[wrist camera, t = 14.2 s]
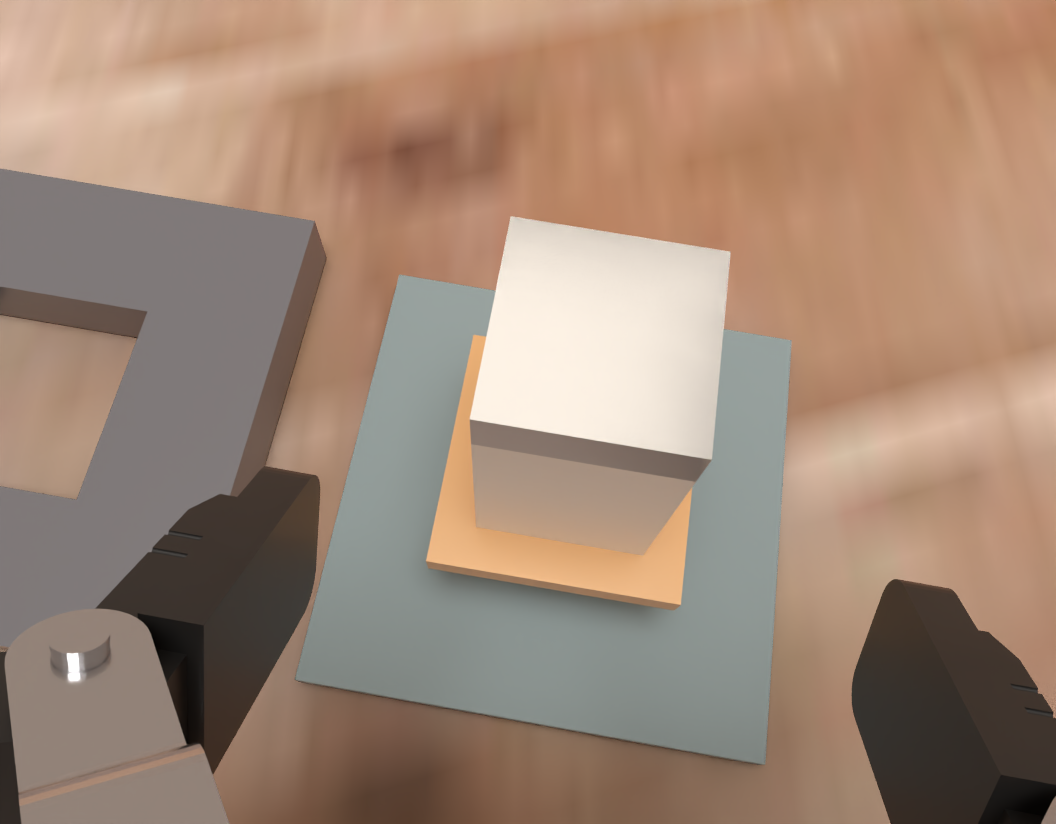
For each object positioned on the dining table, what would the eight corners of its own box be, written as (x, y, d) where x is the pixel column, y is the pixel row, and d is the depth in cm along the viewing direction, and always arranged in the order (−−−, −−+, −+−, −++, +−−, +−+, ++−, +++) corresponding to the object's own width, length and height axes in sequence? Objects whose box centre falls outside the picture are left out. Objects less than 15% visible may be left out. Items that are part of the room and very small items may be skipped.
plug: (680, 415, 25) (788, 214, 16) (657, 624, 23) (769, 529, 14) (475, 381, 26) (466, 163, 16) (433, 585, 23) (396, 466, 14)
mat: (785, 349, 27) (791, 340, 27) (758, 764, 23) (765, 764, 22) (401, 284, 27) (399, 274, 27) (299, 681, 23) (294, 679, 22)
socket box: (326, 257, 28) (314, 220, 26) (199, 684, 23) (173, 677, 21) (-76, 190, 28) (-116, 149, 26) (-285, 596, 23) (-353, 581, 21)
